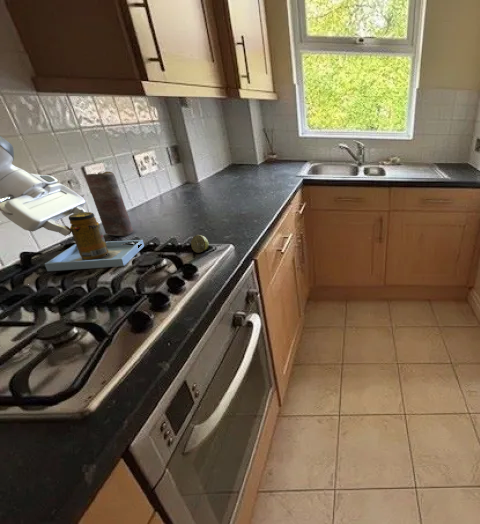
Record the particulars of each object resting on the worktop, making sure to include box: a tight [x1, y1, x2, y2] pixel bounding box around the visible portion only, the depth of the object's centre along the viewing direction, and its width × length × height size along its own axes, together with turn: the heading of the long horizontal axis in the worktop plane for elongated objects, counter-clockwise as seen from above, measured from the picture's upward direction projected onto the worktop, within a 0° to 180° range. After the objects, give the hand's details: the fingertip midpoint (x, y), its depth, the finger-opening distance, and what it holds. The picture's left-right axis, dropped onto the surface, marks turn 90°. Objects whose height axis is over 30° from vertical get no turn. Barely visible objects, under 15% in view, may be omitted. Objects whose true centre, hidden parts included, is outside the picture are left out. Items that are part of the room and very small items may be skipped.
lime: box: [190, 234, 210, 254], centre depth 96 cm, size 4×5×5 cm
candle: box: [84, 171, 134, 237], centre depth 104 cm, size 8×7×20 cm
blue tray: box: [44, 239, 145, 272], centre depth 91 cm, size 17×14×2 cm
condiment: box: [68, 211, 122, 261], centre depth 89 cm, size 7×8×12 cm
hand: (80, 227), depth 88 cm, fingers open, 8 cm apart
